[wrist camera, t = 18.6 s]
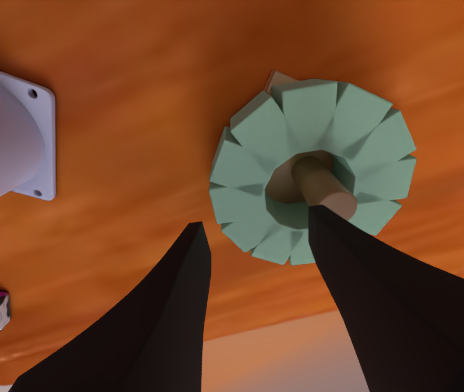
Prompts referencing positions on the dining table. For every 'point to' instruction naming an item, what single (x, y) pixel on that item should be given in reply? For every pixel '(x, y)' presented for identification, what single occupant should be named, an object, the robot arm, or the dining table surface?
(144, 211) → the dining table surface
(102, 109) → the dining table surface
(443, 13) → the dining table surface
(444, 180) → the dining table surface
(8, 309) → the candy bar box
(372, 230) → the ring
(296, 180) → the peg stand
